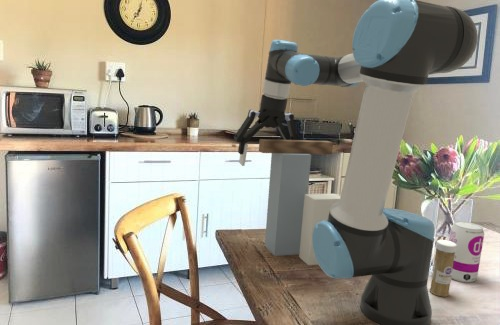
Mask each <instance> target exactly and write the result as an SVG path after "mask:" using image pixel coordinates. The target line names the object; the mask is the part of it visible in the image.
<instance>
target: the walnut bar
mask: <svg viewBox="0 0 500 325" xmlns="http://www.w3.org/2000/svg"><path fill="white" fill-rule="evenodd" d="M333 148H334V142H332V141H329V140H308V139H305V140H304V139H303V140H302V139H298V140H284V139H269V138H267V139H265V138H260V139H259V142H258V152H260V153H262V154H272V153H292V154H310V155H332V154H333Z"/></svg>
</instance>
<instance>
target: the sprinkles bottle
mask: <svg viewBox="0 0 500 325" xmlns="http://www.w3.org/2000/svg"><path fill="white" fill-rule="evenodd" d="M456 247H457V245H456V244H455V243H454V242H451V241H449V240H447V239H438V240H436V243H435V254H434V260H433V266H432V273H431V282H430V287H429V292H431V294H432V295H435V296H438V297H442V298H443V297H449V295H450V287H451V282H452V279H451V277H452V269H453V261H454V254H455V252H456Z"/></svg>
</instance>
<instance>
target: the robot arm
mask: <svg viewBox="0 0 500 325" xmlns="http://www.w3.org/2000/svg"><path fill="white" fill-rule="evenodd" d="M353 32H354V33H353V36H352V41H351V48H352V51H353V52H352V53H349V54H345V55H343V56H339V57H338V56H326V55H316V54H307V53H300V52H299V51H298V44H297V42H294V41H288V40H282V39H273V40H271V43H270V47H269V51H268V57H267V64H266V71H265V77H264V82H263V87H262V93H263V94H261V98H260V104H259V110H258V111H256V110H252V109H249V110H248V113H247V115H246V116H247V117H246V118H245V120H244V121H243V122H242V124H241V125H240V127H239V128H238V130H237V132H236V133H235V135H234V136H233V139H234V140H235V141H236V142H237V143H239V144H238V149H237V150H238V154H239V159H238V160H239V161H238V163H239V164H240V165H241V166H242V167H244V166H245V164H246V159H247V152H248V146H249V144H247V142H249V141H250V140H251V139H252V138H253V137H254V136H255V135H256V134H257V133H258V132H259V131H261V129H262V130H263V128H264V127H265V128H267V129H269V128H272V129H277V130H278V132H279V134H280V135H281V136H282V138H283V140H299V138H298V135H297V130H296V126H295V122H294V121H295V115H294V114H292V113H291V112H286V110H287V104H288V99H287V98H288V97H289V94H290V89H291V84H294V85H296V86H302V87H308V86H310V85H319V86H321V85H322V86H332V87H333V86H335V87H341V88H349V87H350V88H351V87H352V88H354V87H357V86H358V84H359V83H364V84H365V85H364V90H363V95H362V100H361V104H360V109H359V113H358V118H357V121H356V122H357V123H356V127H355V131H354V135H353V138H352V139H353V140H352V145H351V148H350V154H349V156H348V163H347V166H346V167H347V168H346V172H345V175H344V180H343V185H342V189H341V194H340V196H341V197H340V201H339V202H337V203H335V204H334V205H332V206H331V208H330V212H329V216H328V220H327V221H324V220H322V221H321V222H319V223H318V224H316V225H315V227H314V230H313V235H312V243H313V249H314V253H315V256H316V259H317V262H318V264H319V265H318V266H319V267H320V269H321V270H322V272H324V273H325V275H327V276H328V277H329V278H332V279H336V280H337V279H347V280H350V279H352V278H357V277H365V276H370V278H369V280H368V282H367V283H366V285H365V288H364V289H363V292H362V294H361V296H360V304H359V307H360V310H361V311H362V313H363V314H364V315H365V316H366V317H367V318H369V319H370V320H372V321H373V322H375V323H377V324H379V325H430V324H431V322H432V315H433V310H432V305H431V298H430V296H429V291H428V279H429V276H430V275H429V274H430V268H431V262H432V254H433V248H434V243H435V224H434V223H433V221H432V220H431V219H429V218H427V217H425V216H423V215H420V214H417V213H414V212H410V211H407V210H404V209H398V208H390V207H385V204H386V203H387V197H388V194H389V191H390V187H391V182H392V179H393V174H394V171H395V167H396V163H397V159H398V156H399V152H400V148H401V145H402V142H403V137H404V134H405V129H406V125H407V123H408V122H407V121H408V118H409V114H410V111H411V107H412V102H413V99H414V95H415V94H416V93H417V92H418V91H420V90H421V89H423V88H425V87H426V85H427V81H428V78H429V75H435V74H446V73H451V72H455V71H456V70H459V69H460V68H462V67H463V66H464V65H465V64H467V62H469V60H471V58H472V57H473V55H474V53H475V51H476V48H477V45H478V39H479V35H478V30H477V27H476V24H475V21H474V20H473V19H472V18H471V16H470V15H468V13H466V12H465V11H463V10H462V9H459V8H457V7H452V6H450V5H448V6H447V5H441V4H436V3H432V2H427V1H422V0H377V1H375V2H374V3H371V5H369V7H368V9H366V10H365V11H364V12H363V13H362V15H361V17H360V18H359V20H358V21H357V24H356V27H355V28H354V31H353ZM285 112H286V113H285ZM257 118H258V119H257ZM256 119H257V120H256ZM254 120H256V121H255V123H254ZM284 120H286V124H287V129H288V132H289V134H288V132H287V130H286V129H285V126H284V124H283V121H284ZM253 123H254V124H253ZM252 124H253V125H252Z"/></svg>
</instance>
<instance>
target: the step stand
mask: <svg viewBox="0 0 500 325" xmlns="http://www.w3.org/2000/svg"><path fill="white" fill-rule="evenodd" d="M311 161H312V154H292V153H271V159H270V170H269V171H270V172H269V183H268V185H269V186H268V199H267V209H266V225H265V237H264V238H265V240H264V247H265V248H266V249H267V250H268V251H269V252H270V253H271V255H273V256H275V257H277V256H278V257H280V256H292V255H296V256H297V255H299V256H298V257H299V258H300V260H302V261H303V262H304V264H306V265H307V266H317V265H318V266H319V264H318V262H317V259H316V256H315V253H314V249H313V243H312V235H313V230H314V227H315V225H316V224H318V223H319V222H321V221H322V220H324V221H327V220H328V216H329V212H330V208H331V206H332V205H334V204H335V203H337V202H339V201H340V197H341V194H338V193H309V184H310V174H311V163H312V162H311Z"/></svg>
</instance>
